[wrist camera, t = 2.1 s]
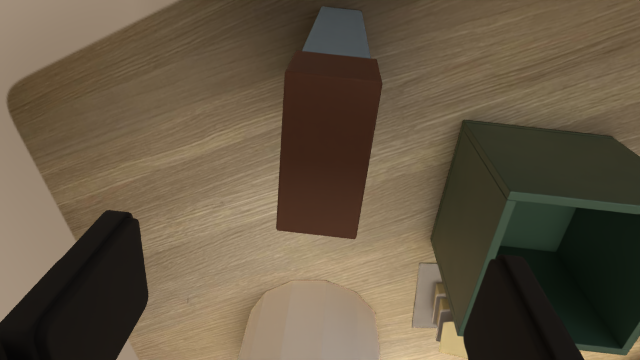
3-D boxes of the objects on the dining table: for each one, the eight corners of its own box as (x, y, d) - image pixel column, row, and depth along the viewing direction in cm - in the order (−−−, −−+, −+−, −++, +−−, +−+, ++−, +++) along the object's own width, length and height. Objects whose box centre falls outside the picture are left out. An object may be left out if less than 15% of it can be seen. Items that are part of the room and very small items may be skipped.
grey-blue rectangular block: (321, 6, 31) (301, 50, 18) (361, 10, 31) (371, 58, 18) (312, 97, 35) (291, 191, 21) (349, 102, 35) (350, 197, 21)
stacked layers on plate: (411, 327, 46) (419, 371, 42) (419, 263, 42) (428, 303, 37) (505, 330, 46) (523, 375, 41) (523, 265, 42) (546, 307, 37)
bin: (463, 119, 35) (510, 191, 25) (611, 136, 35) (720, 214, 25) (430, 239, 41) (457, 336, 31) (557, 253, 41) (626, 355, 30)
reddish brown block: (295, 49, 18) (284, 70, 15) (377, 58, 18) (383, 81, 15) (286, 190, 21) (275, 231, 18) (354, 198, 21) (355, 240, 18)
